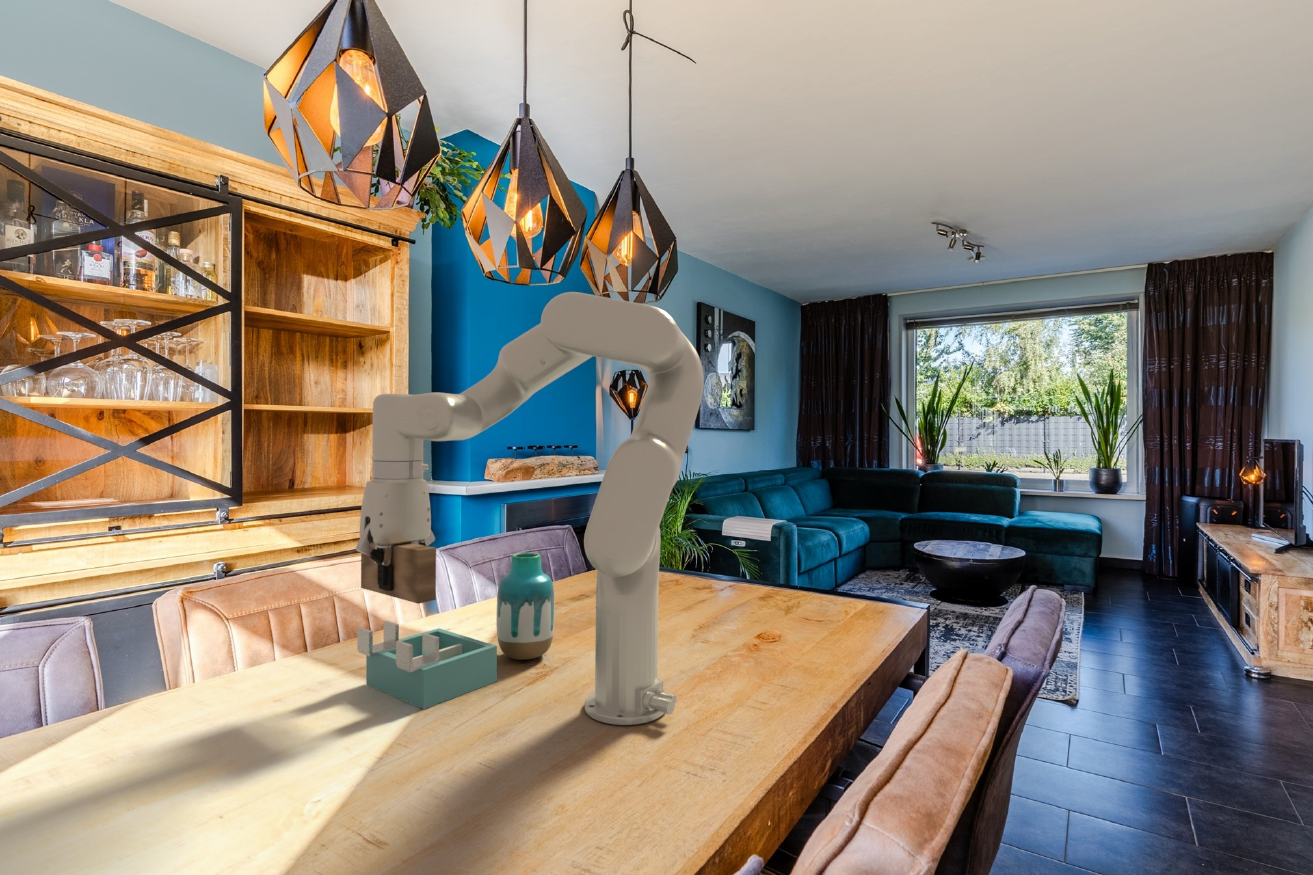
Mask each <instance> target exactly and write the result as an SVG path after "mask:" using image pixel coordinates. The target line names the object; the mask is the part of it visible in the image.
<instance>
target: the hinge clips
mask: <svg viewBox="0 0 1313 875" xmlns="http://www.w3.org/2000/svg"><path fill="white" fill-rule="evenodd" d="M399 626H400V625H399V624H398V623H395V622H392V621H390V620H385V621H383V642H380V643H377V644H374V643H373V642H374V640H373V639H374V637H373V636H374V634H373V632H374V631H373V630H370V629H368V628H364V627H362V626H359V627H357V628H356V632H357V633H356V634H357V635H356V636H357V638H356V641H357V643H356V645H357V646H356V649H357V652H358V653H360V654H363V655H364V656H366V655H367V656H370V657H371V656H375V655H378V654H382V653H385V652H388V651H392V650H395V649H396V665H397V667H398V668H400V669H403V670H406V671H408V672H413V671H416V670H419V669H422V668H425V667H428V666H431V665H434V664H437V663H438V660H439V637H436V636H433V635H430V634H427V633H424V632H423V633H424V634H422V656H421V657H418V658H415V659H413V645H411V644H408V643H405V642H403V641H400V640H399V639H400V634H399V633H400V632H399V631H400V628H399Z"/></svg>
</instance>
